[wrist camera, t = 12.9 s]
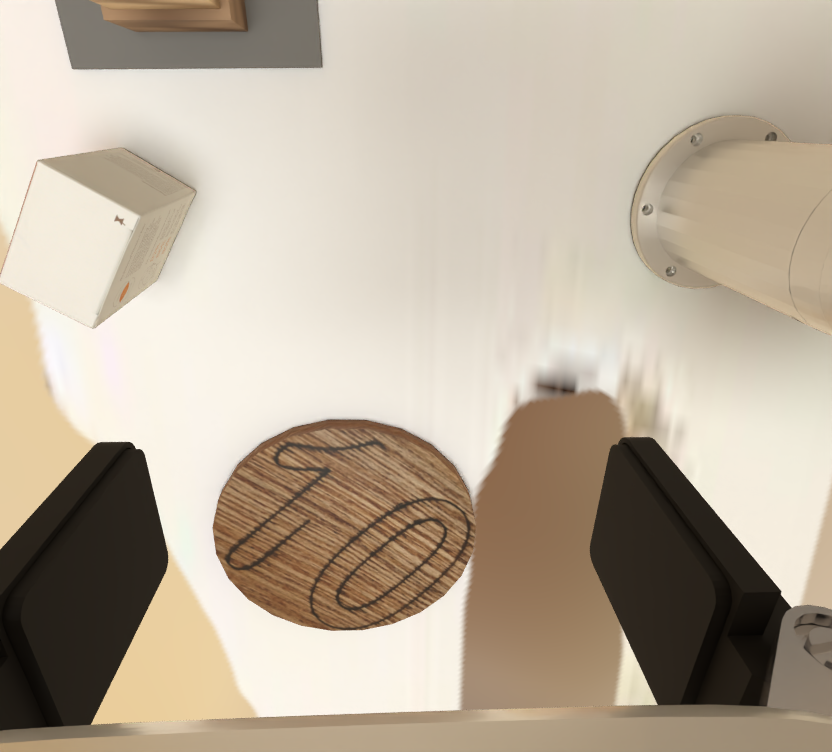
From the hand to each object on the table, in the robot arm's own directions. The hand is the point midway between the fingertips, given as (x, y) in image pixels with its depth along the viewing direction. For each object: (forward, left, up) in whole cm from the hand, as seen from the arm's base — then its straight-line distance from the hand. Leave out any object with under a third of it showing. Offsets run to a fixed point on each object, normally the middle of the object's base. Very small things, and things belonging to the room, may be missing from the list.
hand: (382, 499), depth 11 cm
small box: (+17, -1, -33) cm, 37 cm away
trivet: (+4, +29, -33) cm, 45 cm away
